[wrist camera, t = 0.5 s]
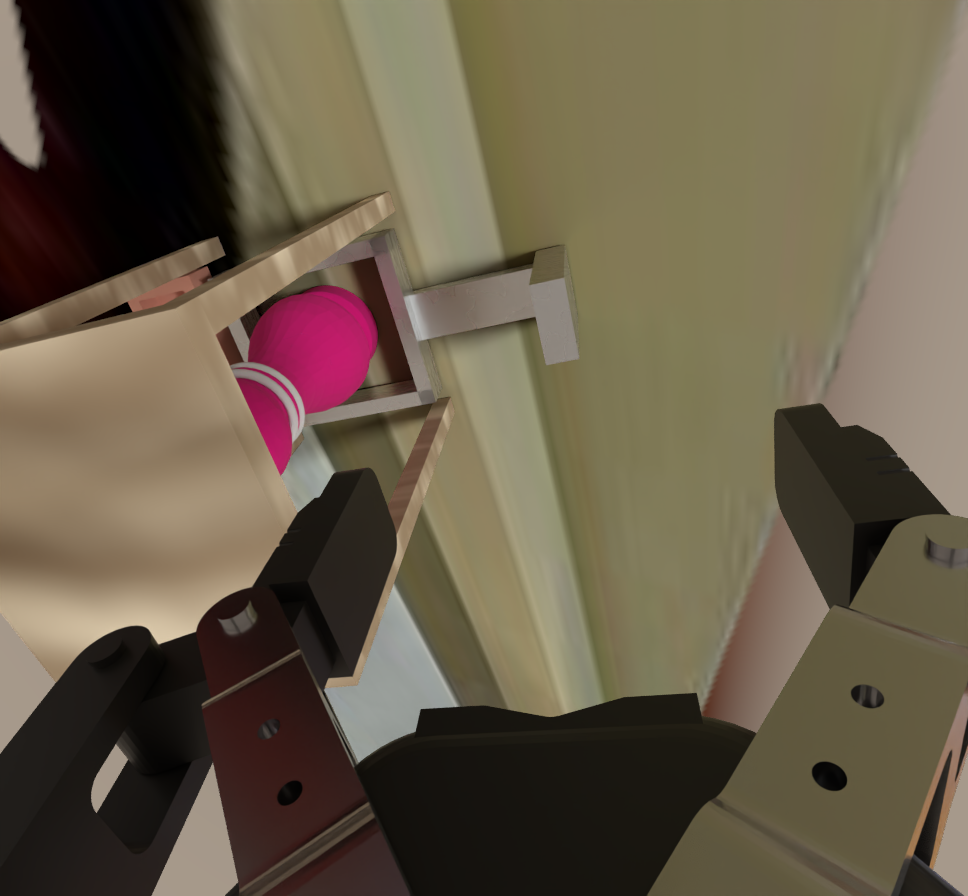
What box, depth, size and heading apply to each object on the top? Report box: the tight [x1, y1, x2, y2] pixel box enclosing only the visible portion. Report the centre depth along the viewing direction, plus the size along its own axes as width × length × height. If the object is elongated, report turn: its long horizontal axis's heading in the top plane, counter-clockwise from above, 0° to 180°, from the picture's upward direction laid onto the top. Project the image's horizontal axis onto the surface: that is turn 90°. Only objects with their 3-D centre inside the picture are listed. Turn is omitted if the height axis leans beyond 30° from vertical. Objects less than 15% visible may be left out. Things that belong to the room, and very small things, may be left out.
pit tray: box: [127, 266, 244, 366], centre depth 44 cm, size 12×5×2 cm, turn 14°
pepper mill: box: [230, 285, 378, 476], centre depth 35 cm, size 7×7×20 cm
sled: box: [208, 228, 579, 427], centre depth 39 cm, size 11×22×8 cm, turn 104°
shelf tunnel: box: [0, 191, 455, 688], centre depth 33 cm, size 15×13×24 cm
